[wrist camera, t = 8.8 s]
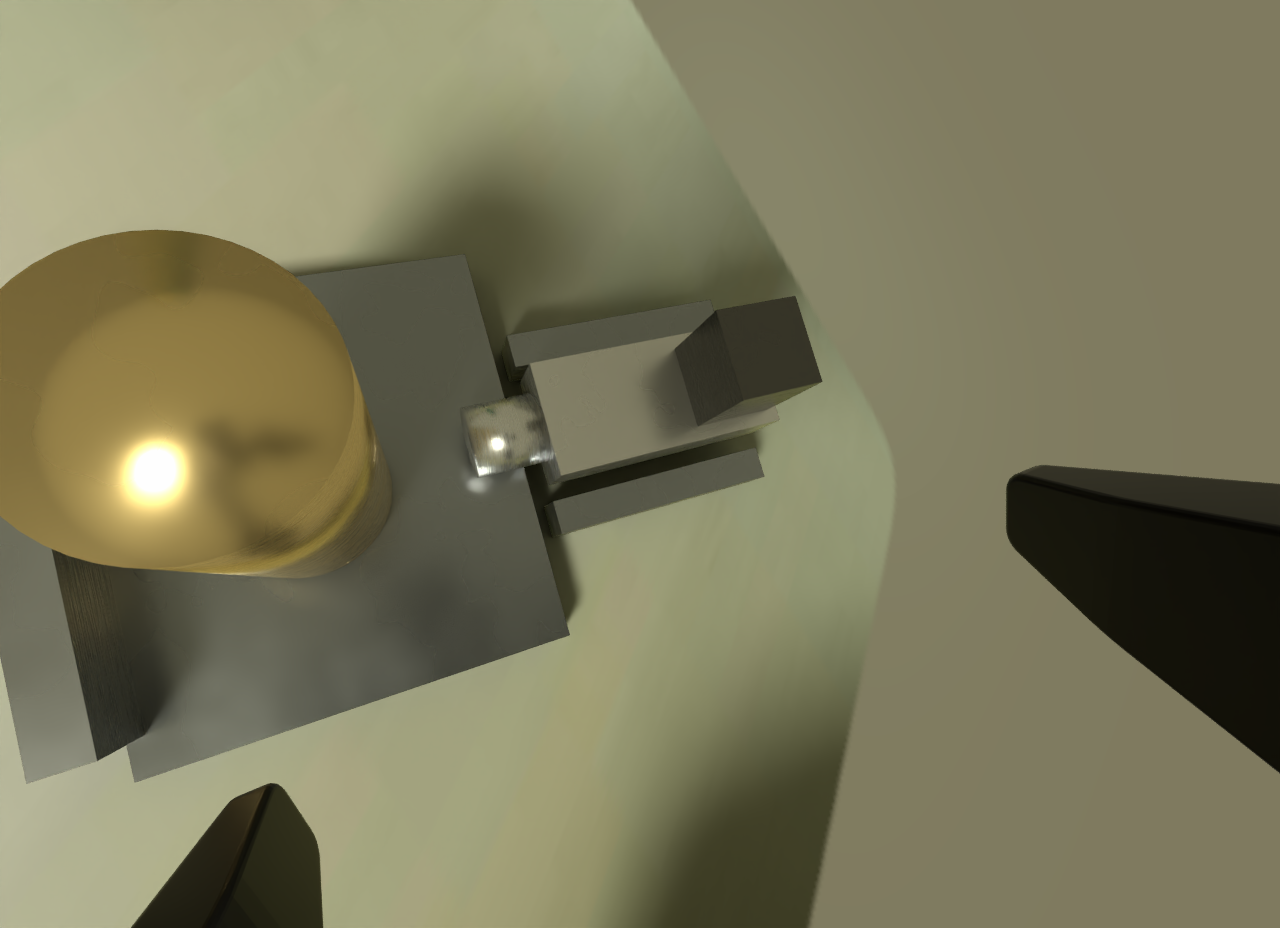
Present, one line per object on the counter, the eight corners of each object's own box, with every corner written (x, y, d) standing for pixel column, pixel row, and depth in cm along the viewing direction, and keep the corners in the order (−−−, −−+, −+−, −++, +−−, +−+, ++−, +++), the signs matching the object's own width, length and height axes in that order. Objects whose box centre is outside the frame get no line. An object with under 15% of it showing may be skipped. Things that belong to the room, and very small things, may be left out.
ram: (749, 433, 23) (836, 393, 18) (481, 502, 20) (500, 476, 15) (722, 342, 23) (800, 279, 18) (452, 397, 20) (463, 338, 15)
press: (766, 563, 24) (828, 559, 20) (117, 782, 17) (37, 833, 14) (669, 241, 25) (712, 183, 21) (19, 333, 18) (-80, 270, 15)
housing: (410, 551, 19) (389, 515, 10) (226, 600, 17) (-14, 616, 8) (370, 394, 19) (312, 212, 10) (187, 430, 18) (-85, 253, 8)
